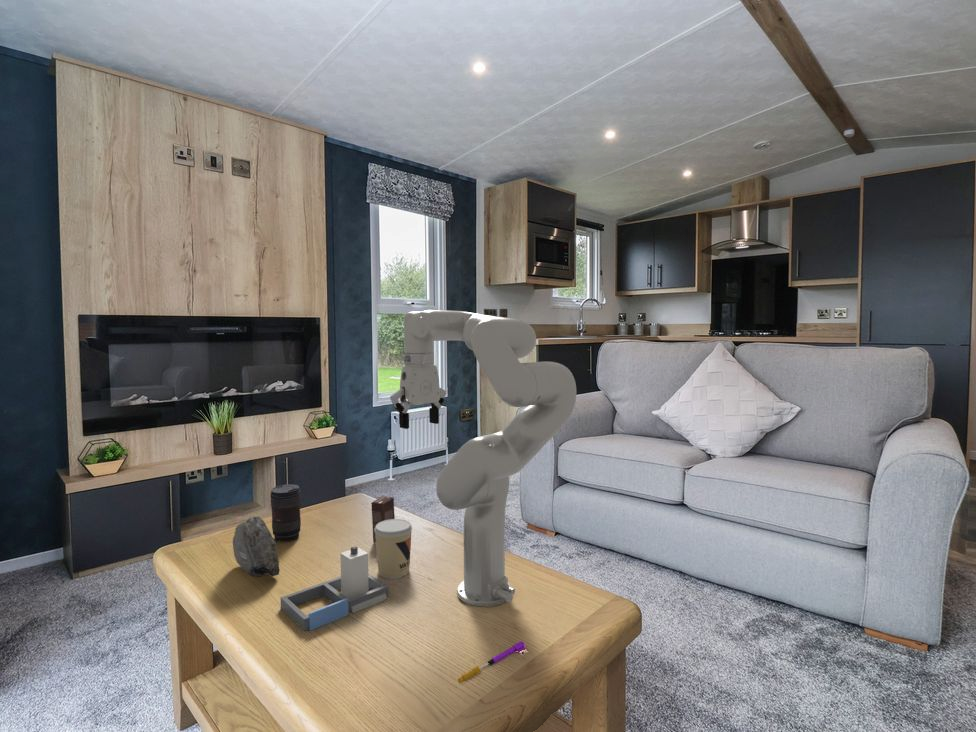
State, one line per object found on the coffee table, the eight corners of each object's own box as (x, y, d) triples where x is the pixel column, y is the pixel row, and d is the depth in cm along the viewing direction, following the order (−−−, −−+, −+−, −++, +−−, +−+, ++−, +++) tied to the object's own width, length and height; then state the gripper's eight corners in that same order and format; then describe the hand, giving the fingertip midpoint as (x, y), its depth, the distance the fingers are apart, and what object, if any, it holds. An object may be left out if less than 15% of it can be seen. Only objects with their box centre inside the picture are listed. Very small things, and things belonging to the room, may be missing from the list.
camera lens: (265, 541, 152) (264, 490, 151) (284, 531, 159) (282, 483, 158) (289, 544, 149) (287, 493, 148) (307, 534, 157) (305, 485, 156)
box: (382, 535, 156) (381, 495, 155) (395, 537, 155) (395, 497, 154) (371, 542, 151) (370, 501, 150) (385, 544, 149) (384, 503, 148)
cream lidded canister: (404, 581, 127) (404, 533, 126) (369, 578, 129) (368, 530, 128) (417, 564, 136) (417, 519, 136) (383, 561, 138) (383, 517, 137)
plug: (368, 595, 121) (367, 548, 120) (351, 602, 118) (350, 553, 117) (358, 588, 124) (357, 542, 123) (341, 595, 121) (340, 547, 120)
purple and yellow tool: (521, 643, 102) (456, 681, 92) (522, 638, 102) (457, 675, 91) (530, 653, 100) (465, 692, 90) (531, 648, 100) (466, 686, 89)
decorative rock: (281, 580, 128) (280, 520, 127) (254, 589, 123) (251, 527, 122) (256, 559, 140) (254, 504, 139) (230, 567, 135) (228, 510, 134)
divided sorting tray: (390, 597, 120) (389, 582, 119) (305, 632, 106) (305, 615, 106) (361, 578, 129) (361, 564, 129) (280, 608, 115) (280, 593, 115)
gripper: (400, 362, 126) (400, 432, 127) (453, 359, 138) (454, 423, 139) (382, 360, 131) (383, 428, 132) (435, 358, 144) (436, 419, 145)
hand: (419, 425), depth 136 cm, fingers open, 9 cm apart
